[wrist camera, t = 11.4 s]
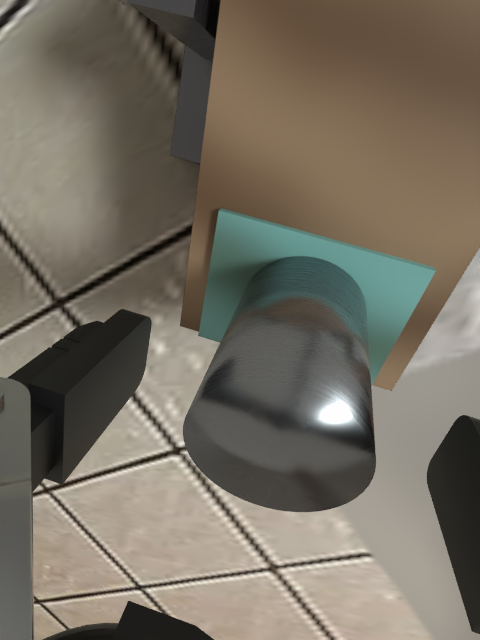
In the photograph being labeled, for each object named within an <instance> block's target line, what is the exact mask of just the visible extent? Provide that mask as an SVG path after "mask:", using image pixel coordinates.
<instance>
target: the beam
mask: <svg viewBox="0 0 480 640" xmlns="http://www.w3.org/2000/svg"><path fill="white" fill-rule="evenodd" d="M479 248H480V0H221V1H220V9H219V17H218V25H217V33H216V42H215V50H214V58H213V66H212V74H211V82H210V90H209V98H208V106H207V114H206V122H205V130H204V138H203V146H202V154H201V162H200V170H199V178H198V186H197V194H196V202H195V210H194V218H193V226H192V234H191V242H190V250H189V259H188V267H187V275H186V283H185V291H184V299H183V307H182V315H181V323H180V326H182V327H186V328H189V329H192V330H195V331H199V335H198V336H201V337H204V338H207V339H210V340H214V341H217V342H221V340H222V338H223V336H224V334H225V331H226V329H227V327H228V325H229V323H230V321H231V319H232V316H233V314H234V312H235V310H236V308H237V306H238V304H239V301H240V299H241V297H242V295H243V293H244V291H245V289H246V287H247V285H248V283H249V281H250V280H251V278H252V277H253V276H254V275H255V274H256V273H257V272H258V271H259V270H260V269H262V268H263V267H264V266H266V265H268V264H269V263H271V262H274V261H276V260H279V259H282V258H286V257H293V256H309V257H315V258H320V259H323V260H326V261H329V262H331V263H333V264H335V265H337V266H339V267H340V268H342V269H343V270H345V271H346V272H347V273H348V274H349V275H350V276H351V277H352V278H353V279H354V280H355V281H356V283H357V284H358V286H359V287H360V289H361V291H362V293H363V296H364V299H365V303H366V312H367V328H368V344H369V359H370V375H371V386H372V385H374V386H377V387H381V388H384V389H388V390H390V391H392V389H393V388H394V386H395V384H396V383H397V381H398V380H399V378H400V376H401V375H402V373H403V371H404V370H405V368H406V366H407V365H408V363H409V362H410V360H411V358H412V357H413V355H414V353H415V352H416V350H417V349H418V347H419V345H420V344H421V342H422V340H423V339H424V337H425V336H426V334H427V332H428V331H429V329H430V327H431V326H432V324H433V322H434V321H435V319H436V318H437V316H438V314H439V313H440V311H441V309H442V308H443V306H444V305H445V303H446V301H447V300H448V298H449V296H450V295H451V293H452V292H453V290H454V288H455V287H456V285H457V283H458V282H459V280H460V279H461V277H462V275H463V274H464V272H465V270H466V269H467V267H468V265H469V264H470V262H471V261H472V259H473V257H474V256H475V254H476V252H477V251H478V249H479Z"/></svg>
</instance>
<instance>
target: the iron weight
mask: <svg viewBox="0 0 480 640" xmlns="http://www.w3.org/2000/svg"><path fill="white" fill-rule="evenodd" d="M183 437H184V442H185V446H186V449H187V451H188V453H189V455H190V457H191V458H192V460H193V462H194V463H195V464H196V466H197V467H198V468H199V469H200V470H201V472H203V473H204V474H205V475H206V476H207V477H208V478H209V479H210V480H211V481H213V482H214V483H215V484H216V485H218V486H219V487H221V488H222V489H224V490H225V491H227V492H229V493H231V494H233V495H234V496H237V497H239V498H241V499H243V500H245V501H248V502H251V503H253V504H256V505H260V506H263V507H267V508H271V509H276V510H282V511H291V512H314V511H322V510H328V509H332V508H335V507H339V506H341V505H344V504H346V503H348V502H350V501H352V500H353V499H355V498H356V497H358V496H359V495H360V494H361V493H363V492H364V490H365V489H366V488H367V487H368V486H369V484H370V482H371V480H372V479H373V476H374V472H375V467H376V455H375V440H374V423H373V408H372V391H371V375H370V359H369V344H368V328H367V312H366V303H365V299H364V296H363V293H362V291H361V289H360V287H359V286H358V284H357V283H356V281H355V280H354V279H353V278H352V277H351V276H350V275H349V274H348V273H347V272H346V271H345V270H343V269H342V268H340V267H339V266H337V265H335V264H333V263H331V262H329V261H326V260H323V259H320V258H315V257H309V256H293V257H286V258H282V259H279V260H276V261H274V262H271V263H269V264H268V265H266V266H264V267H263V268H262V269H260V270H259V271H258V272H257V273H256V274H255V275H254V276H253V277H252V278H251V280H250V281H249V283H248V285H247V287H246V289H245V291H244V293H243V295H242V297H241V299H240V301H239V304H238V306H237V308H236V310H235V312H234V314H233V316H232V319H231V321H230V323H229V325H228V327H227V329H226V331H225V334H224V336H223V338H222V340H221V342H220V344H219V346H218V349H217V351H216V353H215V355H214V357H213V359H212V362H211V364H210V366H209V368H208V370H207V372H206V374H205V377H204V379H203V381H202V383H201V385H200V387H199V389H198V392H197V394H196V396H195V398H194V400H193V402H192V404H191V407H190V409H189V411H188V413H187V415H186V417H185V421H184V425H183Z"/></svg>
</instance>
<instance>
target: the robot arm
mask: <svg viewBox="0 0 480 640" xmlns="http://www.w3.org/2000/svg"><path fill="white" fill-rule="evenodd" d="M150 332H151V319H150V317H147V316H144V315H141V314H137V313H134V312H131V311H128V310H124V309H121V310H119V311H118V312H117V313H116V314H114V315H113V316H112V317H111V318H109V319H108V320H107V321H105V322H104V323H103V322H99V321H95V322H91V323H88V324H85V325H82V326H79V327H77V328H76V329H74V330H73V331H71V332H70V333H69V334H67V335H66V336H65V337H64V339H60V340H59V341H58V342H56V343H55V344H53V345H52V348H50V347H49V348H48V349H47V350H45V351H44V352H42V353H41V354H40V355H38V356H37V357H36V358H34V359H33V360H31V361H30V362H29V363H27V364H26V365H25V366H23V367H22V368H20V369H19V370H18V371H16V372H15V373H14V374H12V375H11V376H9V377H8V378H3V377H0V640H34V594H33V493H32V492H33V491H34V490H35V489H36V488H37V486H38V485H39V484H40V483H41V482H42V481H43V479H44V478H45V479H48V480H51V481H54V482H56V483H59V484H63V483H64V482H65V480H66V479H67V478H68V477H69V475H70V474H71V473H72V471H73V470H74V469H75V468H76V466H77V465H78V464H79V462H80V461H81V460H82V459H83V457H84V456H85V455H86V453H87V452H88V451H89V450H90V448H91V447H92V446H93V445H94V443H95V442H96V441H97V439H98V438H99V437H100V436H101V434H102V433H103V432H104V430H105V429H106V428H107V427H108V425H109V424H110V423H111V421H112V420H113V419H114V418H115V416H116V415H117V414H118V412H119V411H120V410H121V409H122V407H123V406H124V405H125V403H126V402H127V401H128V400H129V398H130V397H131V396H132V395H133V393H134V392H135V391H136V389H137V388H138V386H139V384H140V382H141V380H142V377H143V375H144V371H145V367H146V360H147V353H148V346H149V339H150ZM427 484H428V488H429V491H430V494H431V497H432V501H433V504H434V508H435V511H436V514H437V517H438V521H439V524H440V527H441V531H442V534H443V537H444V540H445V544H446V547H447V551H448V554H449V557H450V560H451V564H452V567H453V570H454V574H455V577H456V580H457V583H458V587H459V590H460V593H461V596H462V600H463V603H464V606H465V610H466V613H467V617H468V620H469V623H470V626H471V630H472V631H473V632H475V633H478V634H480V420H479V419H476V418H473V417H469V416H466V415H462V416H460V417H459V418H458V419H457V420H456V421H455V422H454V424H453V425H452V427H451V428H450V430H449V432H448V434H447V435H446V436H445V438H444V440H443V441H442V443H441V444H440V446H439V448H438V449H437V451H436V452H435V454H434V456H433V457H432V459H431V461H430V463H429V466H428V471H427ZM43 640H214V639H213V638H211V637H210V636H209V635H207V634H206V633H205V632H203V631H202V630H201V629H199V628H198V627H197V626H195V625H192V624H189V623H187V622H184V621H181V620H179V619H176V618H173V617H171V616H168V615H165V614H163V613H160V612H157V611H155V610H152V609H149V608H147V607H144V606H141V605H139V604H136V603H133V602H131V601H128V603H127V605H126V608H125V610H124V612H123V614H122V617H121V619H120V621H119V623H100V624H91V625H85V626H81V627H76V628H72V629H68V630H65V631H63V632H60V633H58V634H55V635H52V636H50V637H47V638H45V639H43Z"/></svg>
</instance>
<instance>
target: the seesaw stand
mask: <svg viewBox="0 0 480 640" xmlns="http://www.w3.org/2000/svg"><path fill="white" fill-rule="evenodd" d="M119 1H120V2H121V3H122V4H124V5H128V6H132V7H134V8H136V9H137V10H138V11H140V12H141V13H142V14H144V15H145V16H147V17H148V18H149V19H151V20H152V21H153V22H155V23H156V24H157V25H159V26H160V27H162V28H163V29H164V30H166V31H167V32H168V33H170V34H171V35H172V36H174V37H175V38H177V39H178V40H179V41H181V42H182V43H183V44H185V51H184V59H183V66H182V73H181V81H180V88H179V95H178V103H177V110H176V117H175V125H174V132H173V139H172V147H171V154H170V156H173V157H177V158H181V159H185V160H188V161H192V162H196V163H199V164H200V162H201V154H202V146H203V138H204V130H205V122H206V114H207V106H208V98H209V90H210V82H211V74H212V66H213V58H214V50H215V42H216V33H217V25H218V17H219V9H220V1H221V0H119Z"/></svg>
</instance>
